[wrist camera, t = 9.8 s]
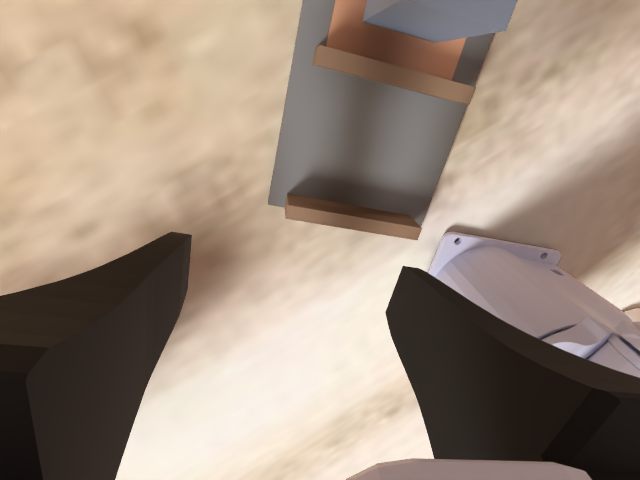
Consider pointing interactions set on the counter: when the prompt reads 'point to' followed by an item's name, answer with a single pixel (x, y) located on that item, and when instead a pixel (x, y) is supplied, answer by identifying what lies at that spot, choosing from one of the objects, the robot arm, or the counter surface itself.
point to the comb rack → (368, 120)
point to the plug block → (440, 17)
